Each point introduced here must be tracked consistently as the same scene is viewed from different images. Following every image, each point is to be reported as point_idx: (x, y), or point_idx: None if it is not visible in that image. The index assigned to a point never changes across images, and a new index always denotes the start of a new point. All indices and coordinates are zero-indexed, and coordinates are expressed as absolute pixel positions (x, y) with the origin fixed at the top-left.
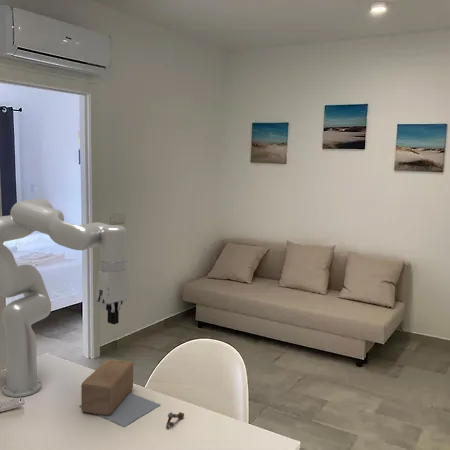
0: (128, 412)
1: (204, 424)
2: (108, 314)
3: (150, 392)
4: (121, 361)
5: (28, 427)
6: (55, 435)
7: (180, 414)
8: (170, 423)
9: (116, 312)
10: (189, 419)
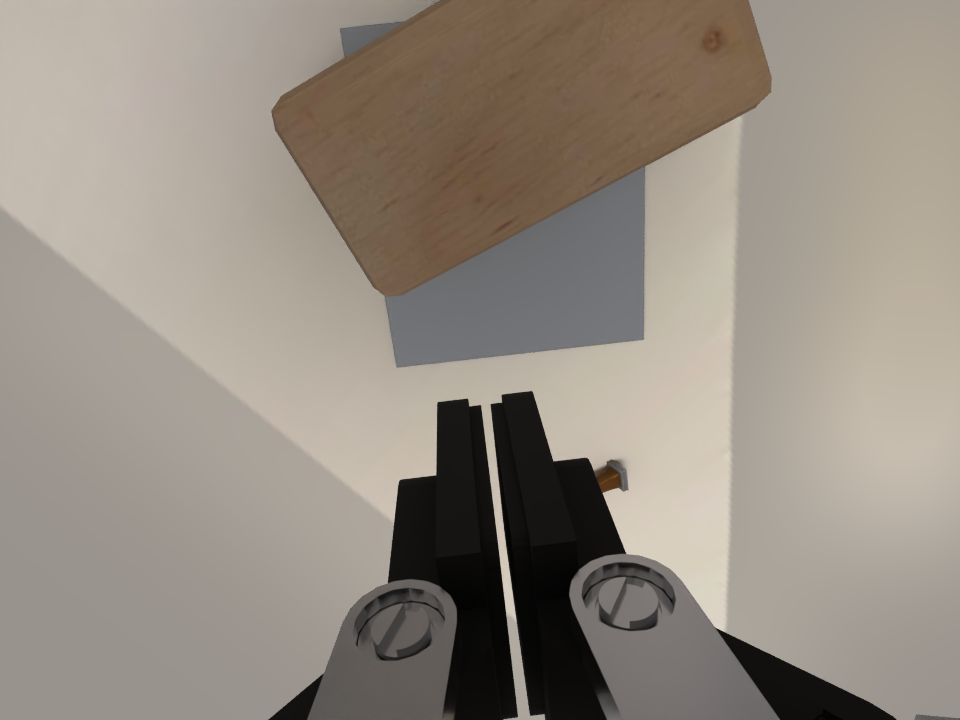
0: (488, 289)
1: (633, 553)
2: (394, 580)
3: (719, 200)
4: (722, 20)
5: (6, 10)
6: (108, 196)
7: (610, 487)
8: None
9: (529, 707)
10: (627, 497)
